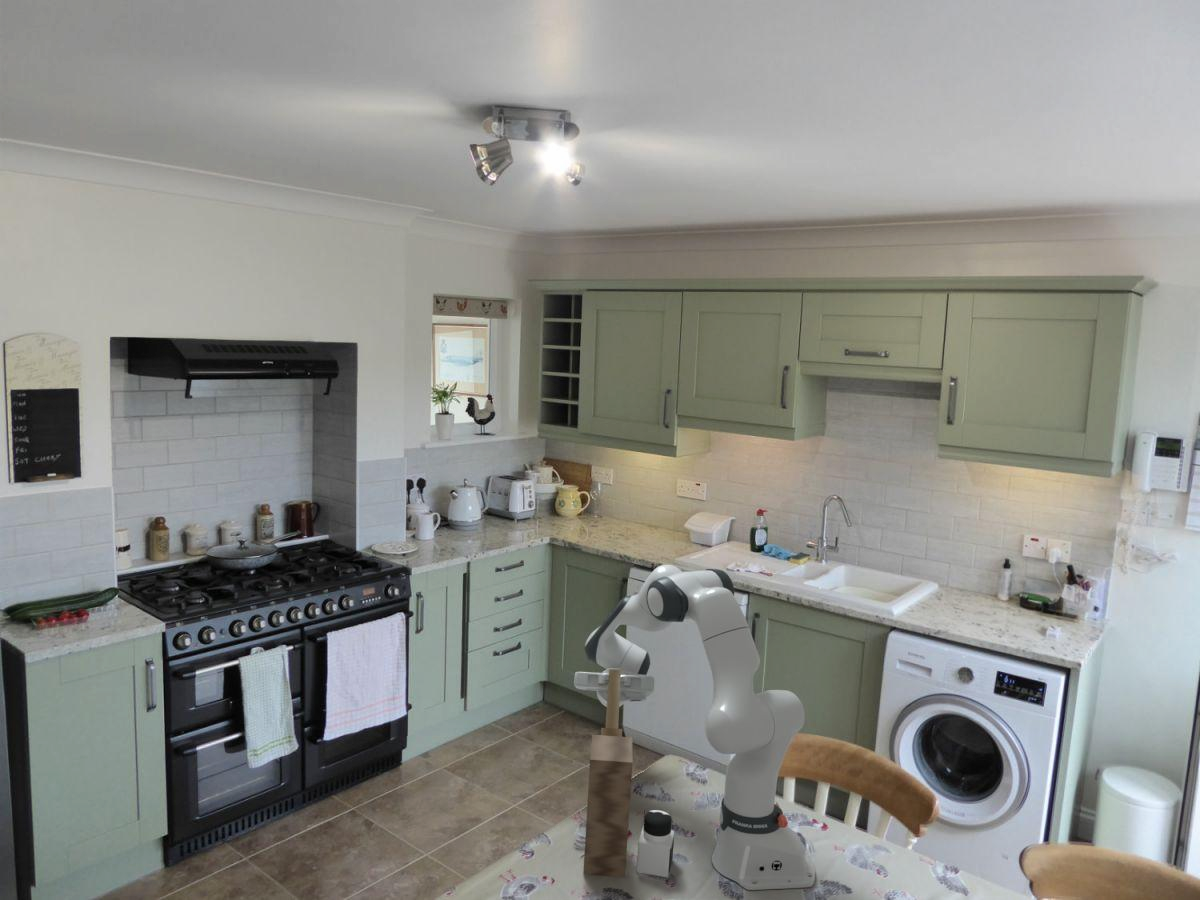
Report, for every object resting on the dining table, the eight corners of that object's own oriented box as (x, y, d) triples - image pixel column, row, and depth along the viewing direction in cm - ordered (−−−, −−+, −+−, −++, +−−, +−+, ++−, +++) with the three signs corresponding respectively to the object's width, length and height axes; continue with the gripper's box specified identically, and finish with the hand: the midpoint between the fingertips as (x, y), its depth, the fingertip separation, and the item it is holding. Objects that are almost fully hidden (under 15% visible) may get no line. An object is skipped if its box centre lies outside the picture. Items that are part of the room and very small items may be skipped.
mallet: (624, 672, 217) (625, 669, 213) (620, 756, 209) (620, 755, 205) (604, 670, 217) (605, 668, 213) (599, 755, 209) (599, 754, 206)
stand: (625, 846, 198) (632, 737, 195) (625, 877, 186) (632, 762, 183) (585, 843, 199) (592, 734, 196) (583, 874, 187) (590, 759, 184)
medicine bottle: (668, 878, 187) (672, 826, 186) (636, 872, 188) (639, 820, 187) (672, 860, 194) (676, 809, 193) (641, 854, 195) (644, 804, 194)
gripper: (574, 671, 227) (573, 662, 215) (652, 676, 227) (656, 667, 214) (572, 695, 225) (571, 688, 212) (651, 701, 224) (655, 694, 212)
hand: (614, 678), depth 213 cm, fingers closed on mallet, 3 cm apart
